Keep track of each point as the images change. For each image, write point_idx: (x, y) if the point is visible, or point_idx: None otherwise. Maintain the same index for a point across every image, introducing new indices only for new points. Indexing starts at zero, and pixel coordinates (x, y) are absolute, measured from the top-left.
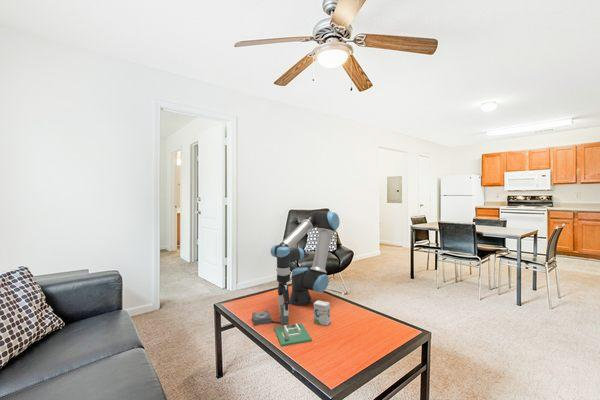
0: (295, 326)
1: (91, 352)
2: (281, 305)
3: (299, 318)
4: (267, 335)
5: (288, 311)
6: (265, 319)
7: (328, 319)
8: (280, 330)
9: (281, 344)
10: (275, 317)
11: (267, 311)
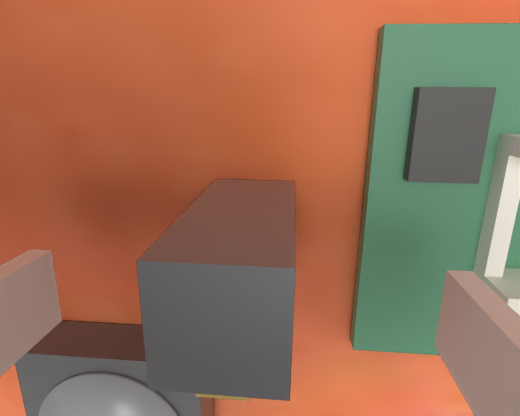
0: (477, 146)
1: None
2: (171, 367)
3: (192, 3)
4: (434, 410)
5: (514, 317)
6: (203, 413)
7: None
8: None
9: None
10: (101, 268)
11: (27, 365)
